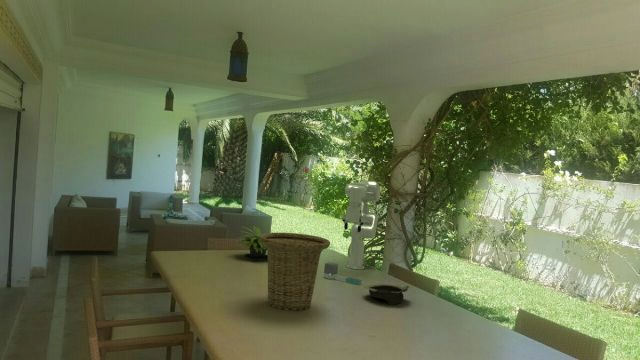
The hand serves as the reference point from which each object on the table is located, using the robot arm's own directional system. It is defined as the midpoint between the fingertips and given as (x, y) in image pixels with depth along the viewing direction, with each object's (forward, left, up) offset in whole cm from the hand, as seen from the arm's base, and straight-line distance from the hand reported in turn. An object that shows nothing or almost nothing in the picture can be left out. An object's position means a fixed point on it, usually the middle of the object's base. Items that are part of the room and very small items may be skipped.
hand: (352, 230), depth 319 cm
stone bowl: (+38, +42, -30) cm, 64 cm away
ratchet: (+18, +5, -30) cm, 35 cm away
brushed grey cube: (+18, -4, -27) cm, 32 cm away
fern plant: (+11, -68, -30) cm, 75 cm away
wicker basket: (+86, +11, -30) cm, 91 cm away
